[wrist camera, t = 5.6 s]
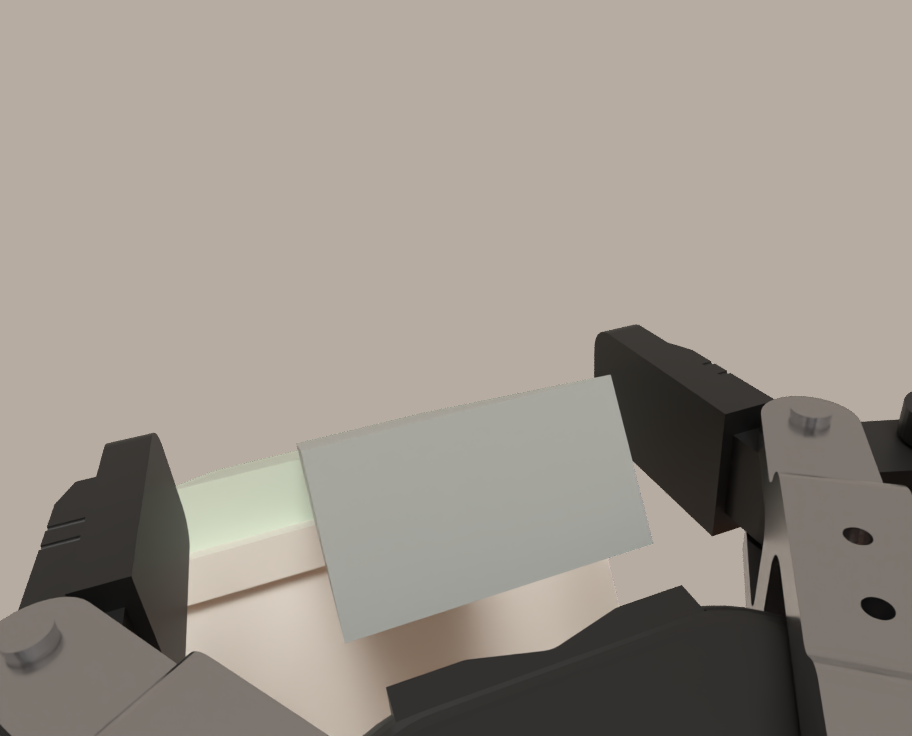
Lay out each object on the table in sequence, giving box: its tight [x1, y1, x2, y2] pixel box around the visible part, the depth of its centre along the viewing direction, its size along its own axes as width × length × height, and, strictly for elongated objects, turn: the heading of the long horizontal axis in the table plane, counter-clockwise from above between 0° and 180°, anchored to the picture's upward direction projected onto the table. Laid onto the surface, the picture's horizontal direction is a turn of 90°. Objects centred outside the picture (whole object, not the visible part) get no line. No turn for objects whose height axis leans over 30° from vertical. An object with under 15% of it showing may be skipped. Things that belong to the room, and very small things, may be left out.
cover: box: [176, 375, 653, 643], centre depth 19 cm, size 11×25×2 cm, turn 14°
